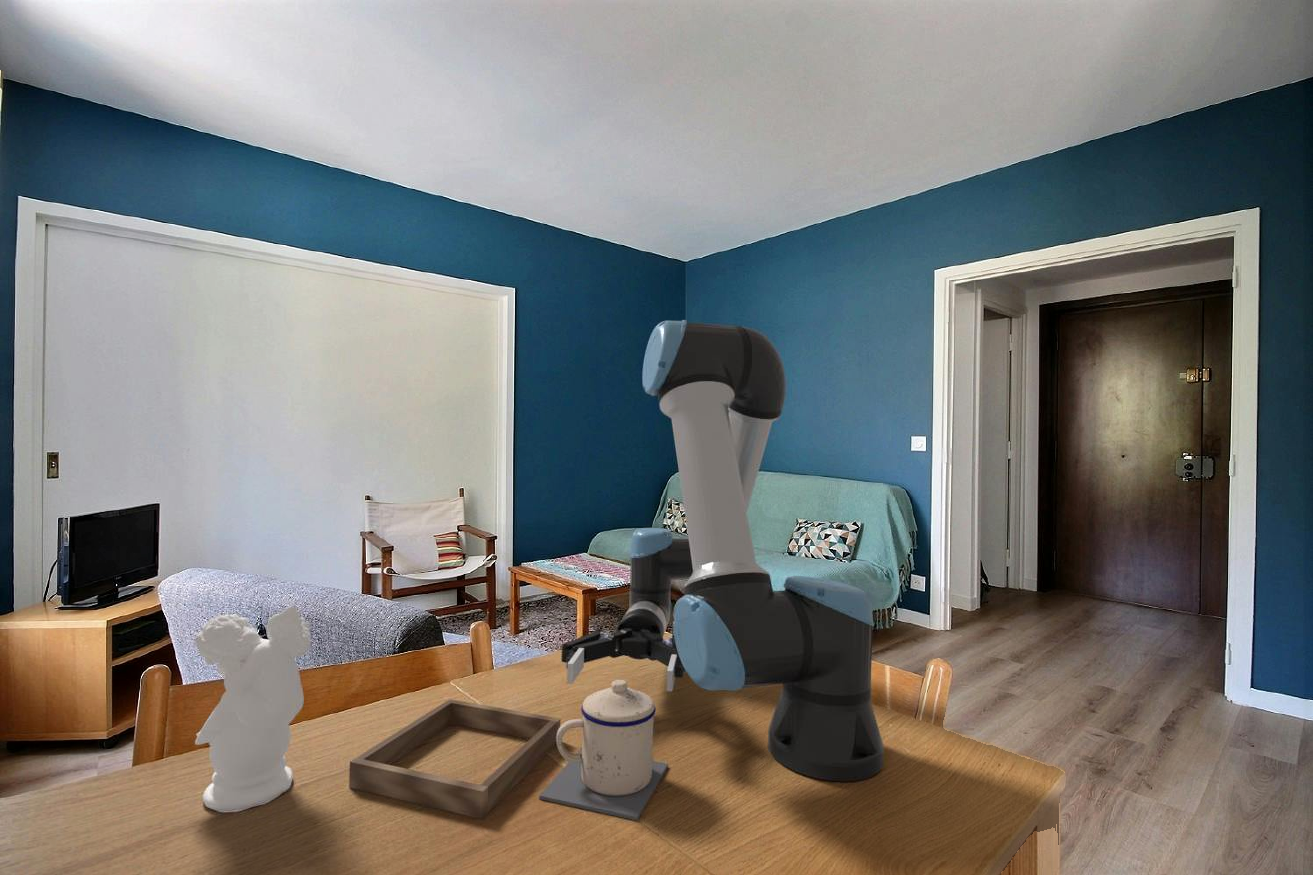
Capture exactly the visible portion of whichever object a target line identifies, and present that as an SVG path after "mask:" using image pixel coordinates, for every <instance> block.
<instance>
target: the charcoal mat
mask: <svg viewBox="0 0 1313 875" xmlns="http://www.w3.org/2000/svg"><path fill="white" fill-rule="evenodd" d="M576 754H582V747H581V748H580V749H579V750H578V751H577V752H576ZM668 766H669V763H667V762H661V761H655V760H652V777H651V780H650V782H649V783H648V785H647V786H646V787H645V788H643V789H642V790H640V791H638V792H635V793H632V794H629V795H622V796H610V795H604V794H600V793H597V792H595V791H593V790H591V789H590V788H588V787H587V786H586V785H585V784H584V782H583V780H582V776H581V770H582V763H575V762H570V761H568V763H567V764H566V765H565V766H564V767H563V768H562V769H561V771H560V772H559V773H558V774H557V775H556V776H555V777H554V778H553V779H552V780H551V781H550V783H549V784H548V785H547V786H546V787H545V788H544V789H543V791H541V793H540V794H539V795H538V799H539V800H543V801H547V802H551V803H555V804H561V805H565V806H570V807H574V808H578V809H583V810H588V811H592V812H595V813H600V814H606V815H610V816H615V817H620V818H622V819H629V820H633V821H638V820H639V818H640V816H641V814H642V813H643V811H644V809H645V808H646V806H647V804H648V803H649V802H650V801H649V800H650V799H651V797H652V796H653V794H654V792H655V790H656V788H657V786H658V785H659V783H660V781H661V780H662V778H663V776H664V775H665V772H666V771H667V769H668Z"/></svg>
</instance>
